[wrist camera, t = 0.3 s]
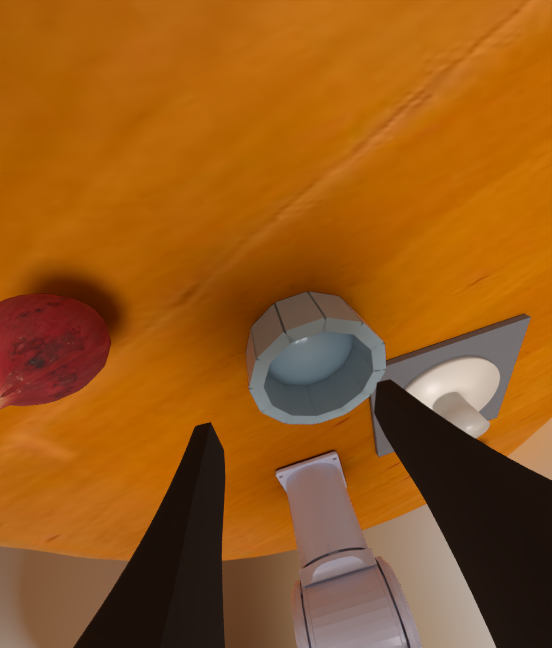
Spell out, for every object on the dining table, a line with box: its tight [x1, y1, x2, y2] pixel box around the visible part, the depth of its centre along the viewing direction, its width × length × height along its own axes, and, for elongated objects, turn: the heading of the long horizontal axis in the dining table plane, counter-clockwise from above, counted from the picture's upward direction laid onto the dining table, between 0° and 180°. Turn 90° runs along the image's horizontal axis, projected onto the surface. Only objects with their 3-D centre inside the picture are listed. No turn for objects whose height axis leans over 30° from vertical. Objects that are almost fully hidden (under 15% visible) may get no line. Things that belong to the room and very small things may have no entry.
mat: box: [369, 314, 531, 457], centre depth 28 cm, size 16×16×1 cm
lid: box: [404, 356, 500, 438], centre depth 26 cm, size 12×12×4 cm
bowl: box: [246, 291, 386, 424], centre depth 20 cm, size 10×10×4 cm
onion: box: [0, 293, 111, 409], centre depth 13 cm, size 6×6×8 cm
